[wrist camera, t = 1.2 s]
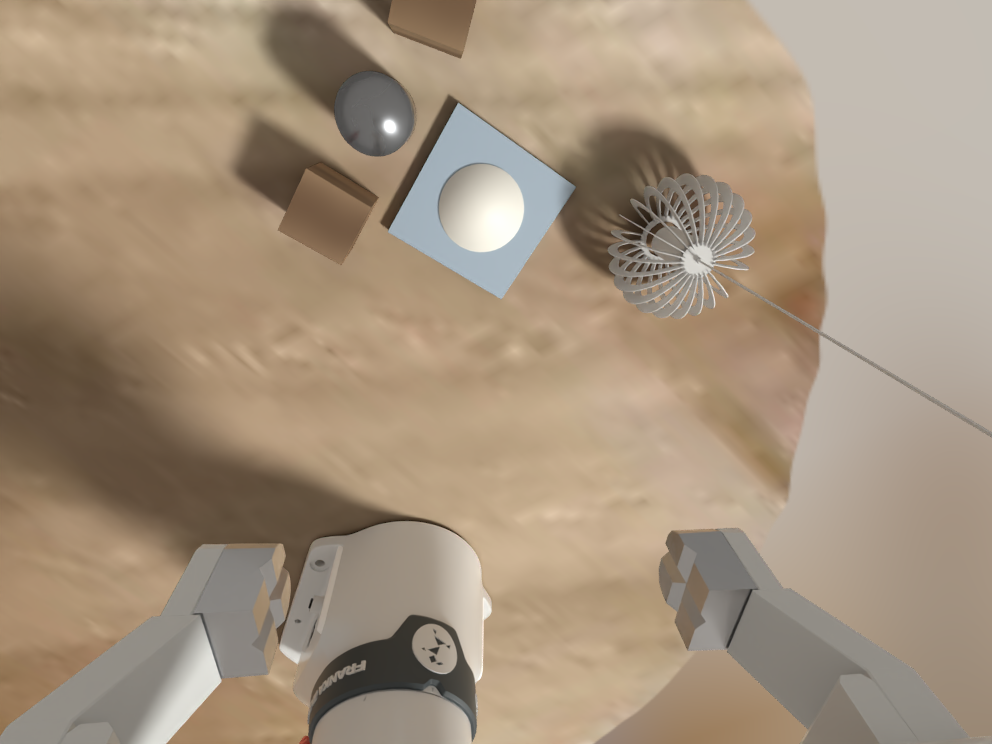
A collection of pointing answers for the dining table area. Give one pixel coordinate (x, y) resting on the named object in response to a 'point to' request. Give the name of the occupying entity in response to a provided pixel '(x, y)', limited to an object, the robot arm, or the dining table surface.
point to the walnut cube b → (433, 22)
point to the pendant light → (698, 256)
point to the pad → (480, 203)
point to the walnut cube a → (327, 212)
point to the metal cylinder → (374, 113)
